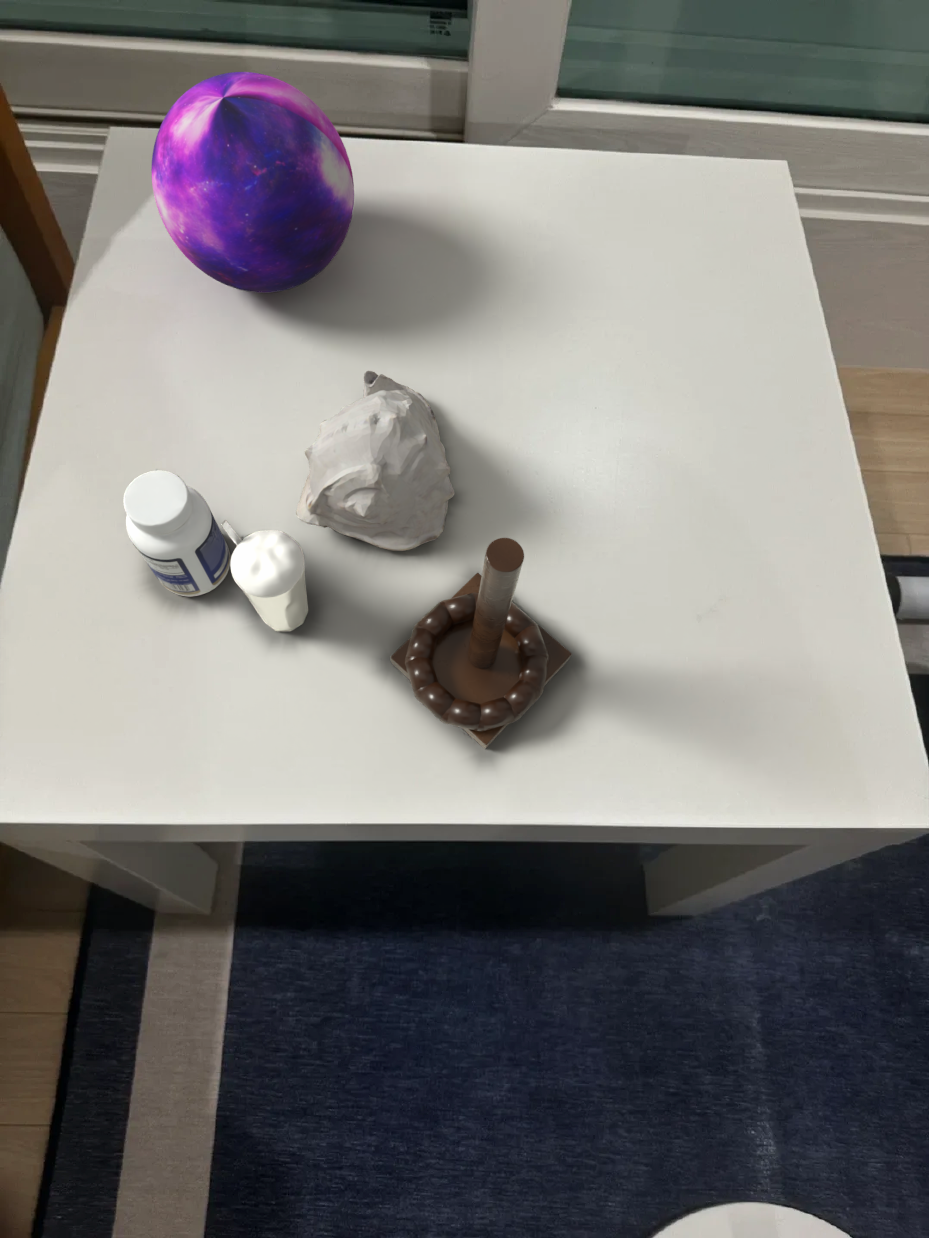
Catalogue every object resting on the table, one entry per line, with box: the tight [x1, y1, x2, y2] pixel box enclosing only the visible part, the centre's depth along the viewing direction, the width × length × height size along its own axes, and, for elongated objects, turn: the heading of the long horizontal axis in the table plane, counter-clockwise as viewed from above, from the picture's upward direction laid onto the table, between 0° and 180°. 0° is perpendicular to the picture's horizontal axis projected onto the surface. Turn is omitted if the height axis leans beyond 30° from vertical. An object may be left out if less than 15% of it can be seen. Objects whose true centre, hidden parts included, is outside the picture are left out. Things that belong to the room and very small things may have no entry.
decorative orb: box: [151, 71, 355, 294], centre depth 65 cm, size 15×15×15 cm
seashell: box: [295, 370, 455, 552], centre depth 61 cm, size 12×14×10 cm
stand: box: [389, 537, 573, 750], centre depth 52 cm, size 9×9×17 cm
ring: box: [405, 593, 549, 731], centre depth 58 cm, size 10×10×2 cm
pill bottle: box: [122, 469, 231, 597], centre depth 57 cm, size 5×5×10 cm
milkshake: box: [220, 519, 309, 632], centre depth 56 cm, size 4×5×10 cm
